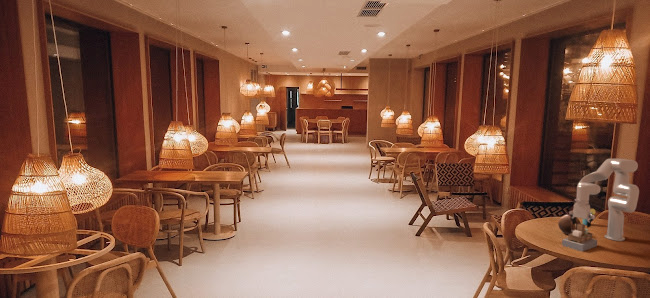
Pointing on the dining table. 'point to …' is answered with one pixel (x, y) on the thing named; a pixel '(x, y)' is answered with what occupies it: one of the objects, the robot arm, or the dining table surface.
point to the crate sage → (586, 231)
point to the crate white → (577, 233)
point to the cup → (590, 216)
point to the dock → (579, 244)
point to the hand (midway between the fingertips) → (581, 225)
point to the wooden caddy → (583, 237)
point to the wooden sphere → (568, 224)
